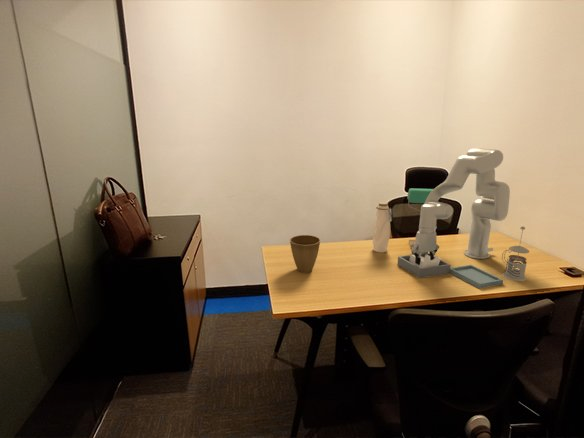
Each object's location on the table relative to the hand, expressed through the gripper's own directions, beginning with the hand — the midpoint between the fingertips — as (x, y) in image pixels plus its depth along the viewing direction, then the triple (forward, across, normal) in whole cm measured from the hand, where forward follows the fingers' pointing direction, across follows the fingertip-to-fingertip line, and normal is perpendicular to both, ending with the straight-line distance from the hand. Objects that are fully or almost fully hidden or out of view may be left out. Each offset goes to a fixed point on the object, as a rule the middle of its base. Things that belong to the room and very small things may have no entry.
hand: (424, 262), depth 173 cm
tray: (+3, -15, +17) cm, 23 cm away
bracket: (+2, 0, 0) cm, 2 cm away
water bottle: (+3, +6, -30) cm, 31 cm away
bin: (+3, +1, 0) cm, 3 cm away
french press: (+4, -34, +21) cm, 41 cm away
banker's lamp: (+4, -17, -27) cm, 32 cm away
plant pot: (+2, +58, -18) cm, 60 cm away
